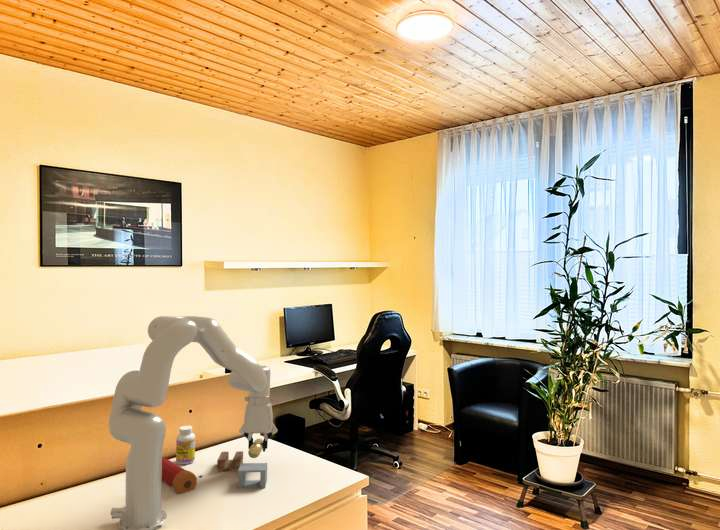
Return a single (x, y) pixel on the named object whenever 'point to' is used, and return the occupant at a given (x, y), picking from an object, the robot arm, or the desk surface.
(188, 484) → the shell casing
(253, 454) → the axle
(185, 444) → the supplement bottle
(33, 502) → the desk surface
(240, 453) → the v block
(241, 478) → the grey hollow block
